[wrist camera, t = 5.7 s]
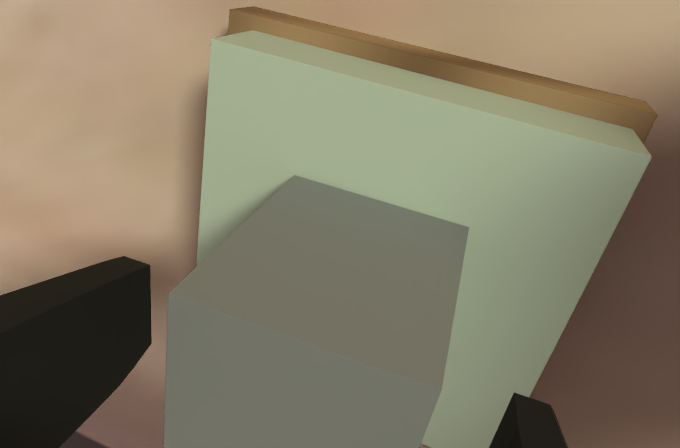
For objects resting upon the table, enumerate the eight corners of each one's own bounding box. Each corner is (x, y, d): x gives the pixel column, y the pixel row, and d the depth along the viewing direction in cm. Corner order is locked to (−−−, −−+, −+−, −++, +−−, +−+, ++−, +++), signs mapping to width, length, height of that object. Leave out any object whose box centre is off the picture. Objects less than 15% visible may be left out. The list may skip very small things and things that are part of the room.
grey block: (468, 227, 11) (441, 389, 7) (421, 364, 13) (375, 560, 9) (294, 175, 12) (168, 293, 7) (273, 312, 14) (163, 471, 9)
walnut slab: (640, 95, 13) (657, 114, 11) (504, 389, 17) (501, 434, 16) (265, 5, 15) (229, 9, 13) (235, 291, 19) (206, 322, 18)
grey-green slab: (632, 128, 11) (651, 156, 9) (495, 416, 15) (491, 471, 14) (253, 30, 13) (211, 38, 11) (224, 313, 17) (190, 351, 15)
